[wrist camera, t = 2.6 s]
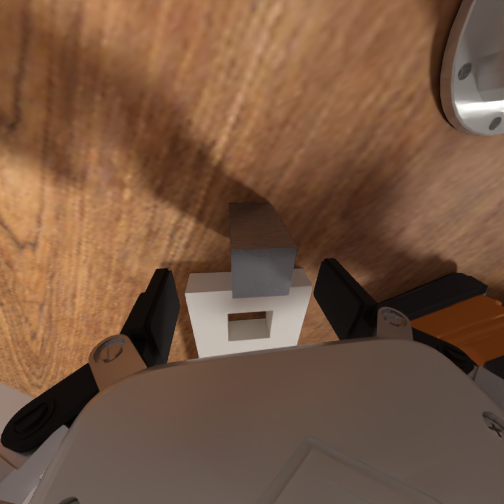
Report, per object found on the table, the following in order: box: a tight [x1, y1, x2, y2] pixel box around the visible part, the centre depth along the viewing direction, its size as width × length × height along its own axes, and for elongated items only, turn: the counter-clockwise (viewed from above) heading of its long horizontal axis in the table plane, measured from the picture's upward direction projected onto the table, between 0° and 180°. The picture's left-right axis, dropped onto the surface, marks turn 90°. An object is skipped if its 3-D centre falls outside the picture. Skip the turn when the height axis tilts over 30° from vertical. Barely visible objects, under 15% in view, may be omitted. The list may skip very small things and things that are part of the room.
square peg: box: [229, 203, 297, 299], centre depth 15 cm, size 4×4×8 cm
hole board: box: [185, 268, 313, 358], centre depth 26 cm, size 20×13×3 cm, turn 178°
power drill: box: [377, 273, 504, 380], centre depth 18 cm, size 22×7×25 cm, turn 120°
